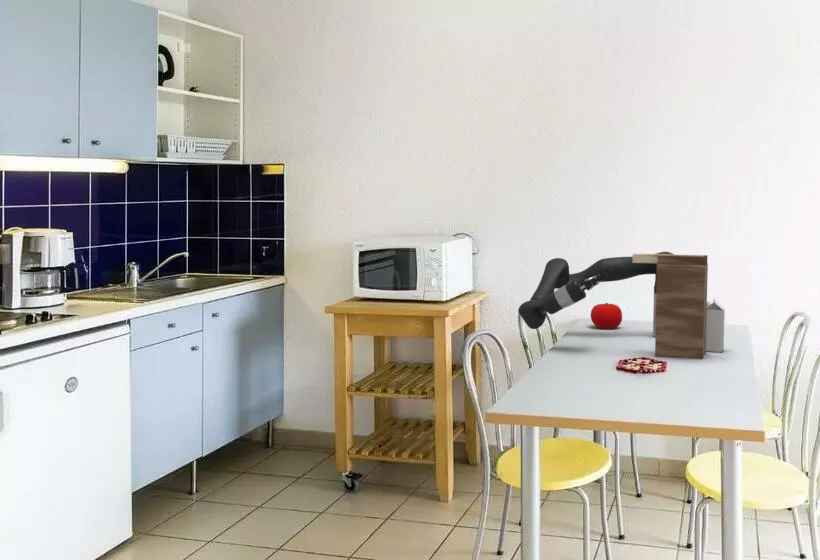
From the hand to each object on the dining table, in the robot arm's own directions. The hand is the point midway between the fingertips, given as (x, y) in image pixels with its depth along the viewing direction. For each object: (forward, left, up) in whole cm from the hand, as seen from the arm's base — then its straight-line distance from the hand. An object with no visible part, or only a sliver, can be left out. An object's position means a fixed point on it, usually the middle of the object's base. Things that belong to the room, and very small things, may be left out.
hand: (609, 273), depth 355 cm
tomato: (-55, -10, -28) cm, 63 cm away
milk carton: (-13, +35, -28) cm, 47 cm away
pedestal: (0, +25, -28) cm, 38 cm away
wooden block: (0, +20, +4) cm, 21 cm away
